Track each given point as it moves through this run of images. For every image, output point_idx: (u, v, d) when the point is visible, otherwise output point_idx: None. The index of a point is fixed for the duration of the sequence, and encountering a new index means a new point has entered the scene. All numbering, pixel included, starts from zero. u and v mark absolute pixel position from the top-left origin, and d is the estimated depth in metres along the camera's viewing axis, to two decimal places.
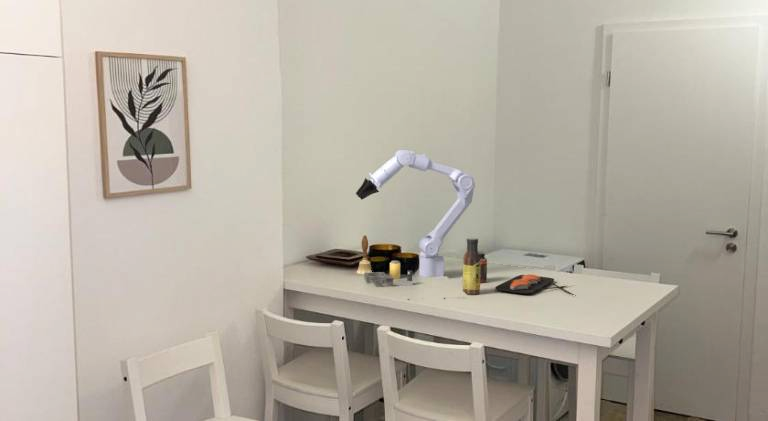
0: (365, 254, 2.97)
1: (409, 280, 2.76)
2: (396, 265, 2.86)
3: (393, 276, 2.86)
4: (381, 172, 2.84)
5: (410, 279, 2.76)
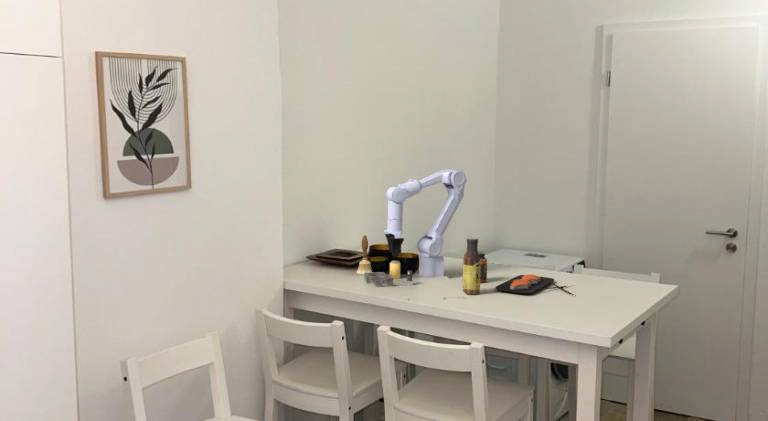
0: (365, 254, 2.97)
1: (409, 280, 2.76)
2: (396, 265, 2.86)
3: (393, 276, 2.86)
4: (391, 222, 2.83)
5: (410, 279, 2.76)
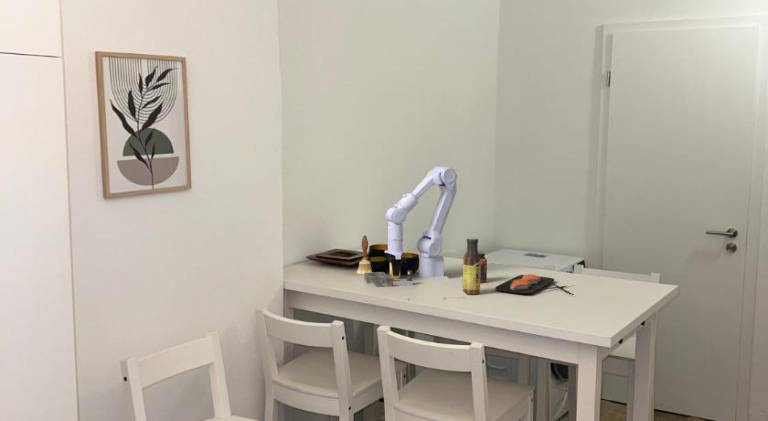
0: (365, 254, 2.97)
1: (409, 280, 2.76)
2: None
3: (393, 276, 2.86)
4: (392, 243, 2.84)
5: (410, 279, 2.76)
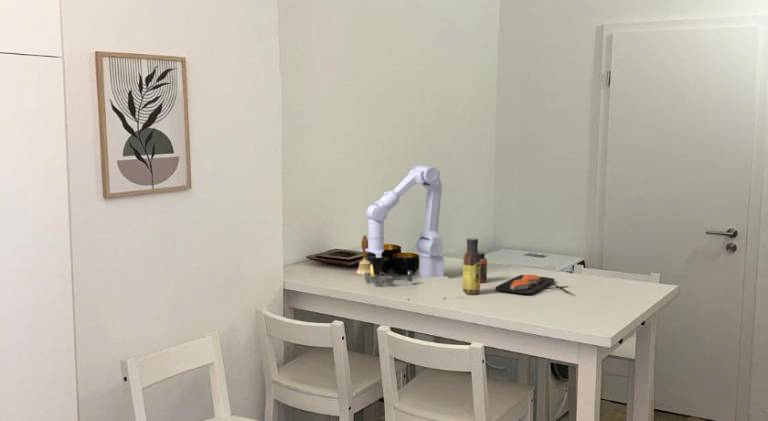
0: (365, 254, 2.97)
1: (409, 280, 2.76)
2: None
3: None
4: (372, 241, 2.79)
5: (410, 279, 2.76)
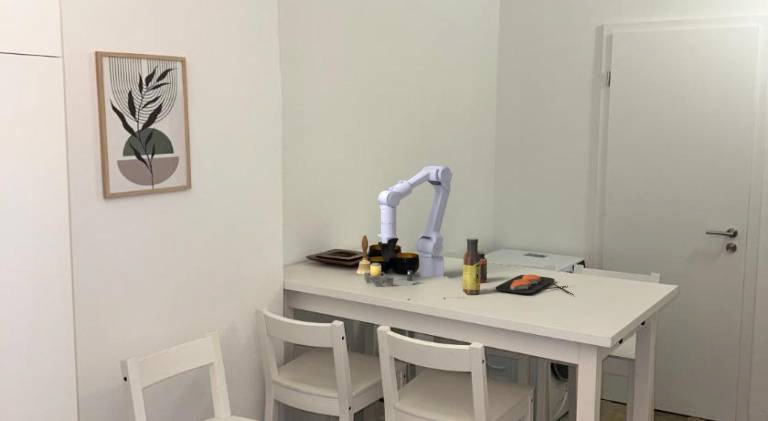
0: (365, 254, 2.97)
1: (409, 280, 2.76)
2: (377, 268, 2.81)
3: None
4: (383, 227, 2.77)
5: (410, 279, 2.76)
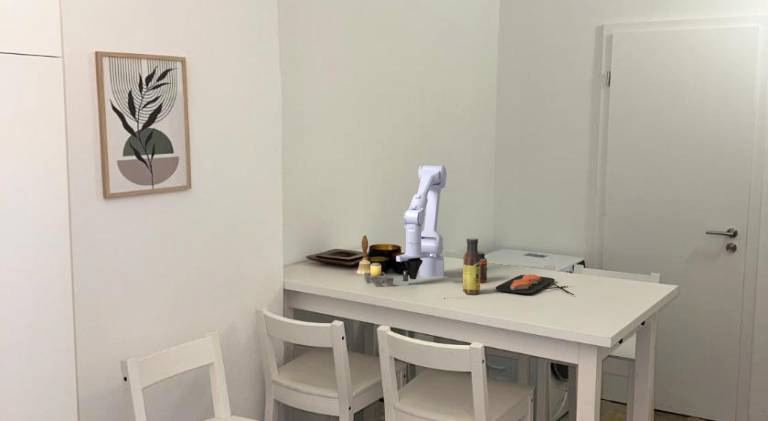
0: (365, 254, 2.97)
1: (405, 280, 2.76)
2: (377, 268, 2.81)
3: None
4: None
5: (406, 279, 2.76)
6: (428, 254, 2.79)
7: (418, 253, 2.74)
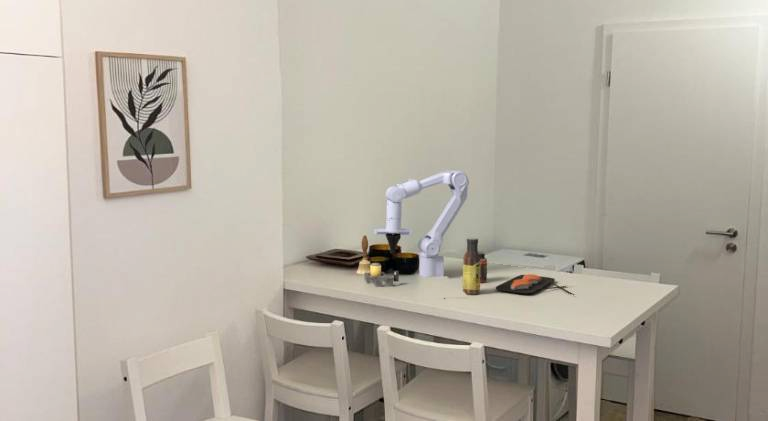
0: (365, 254, 2.97)
1: (395, 280, 2.76)
2: (377, 268, 2.81)
3: None
4: None
5: (396, 279, 2.76)
6: (410, 231, 2.89)
7: (394, 228, 2.86)
